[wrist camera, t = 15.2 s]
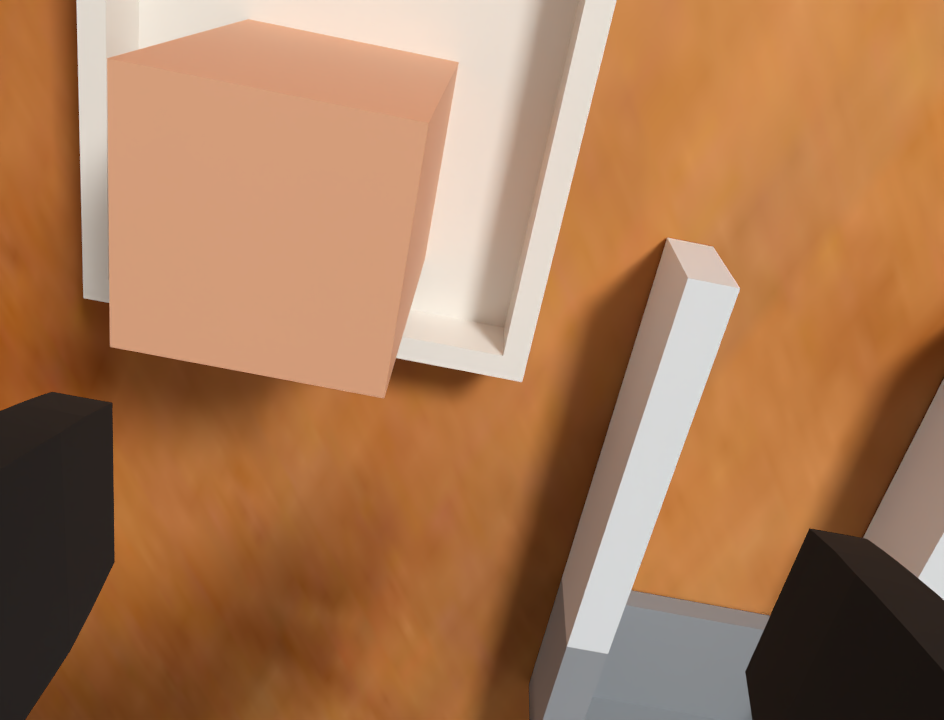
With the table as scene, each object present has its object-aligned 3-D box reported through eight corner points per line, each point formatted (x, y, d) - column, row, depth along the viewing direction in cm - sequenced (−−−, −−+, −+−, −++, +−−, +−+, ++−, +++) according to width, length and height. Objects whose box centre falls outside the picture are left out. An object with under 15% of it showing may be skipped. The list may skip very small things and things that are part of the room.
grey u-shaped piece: (800, 732, 24) (828, 810, 22) (528, 684, 24) (530, 758, 22) (855, 630, 22) (891, 704, 20) (561, 577, 22) (566, 646, 20)
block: (424, 259, 18) (384, 398, 12) (236, 222, 17) (109, 346, 12) (458, 62, 16) (428, 123, 10) (248, 18, 16) (106, 58, 10)
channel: (855, 630, 22) (891, 704, 20) (561, 577, 22) (566, 646, 20) (1027, 309, 18) (1096, 358, 16) (666, 237, 18) (688, 278, 16)
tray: (521, 340, 19) (522, 381, 17) (125, 264, 19) (83, 297, 17) (629, -107, 15) (644, -114, 13) (126, -216, 15) (70, -238, 13)
